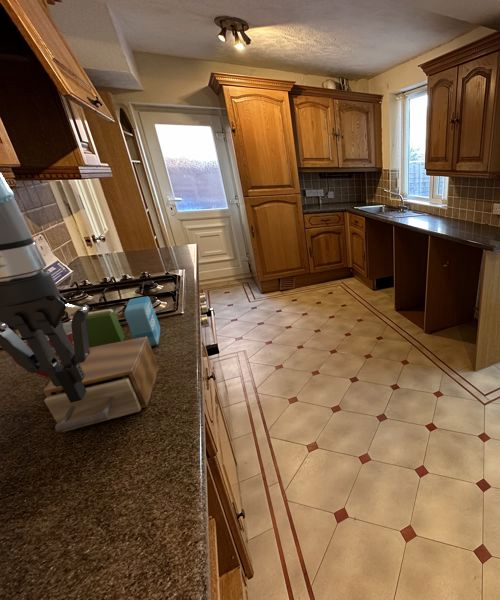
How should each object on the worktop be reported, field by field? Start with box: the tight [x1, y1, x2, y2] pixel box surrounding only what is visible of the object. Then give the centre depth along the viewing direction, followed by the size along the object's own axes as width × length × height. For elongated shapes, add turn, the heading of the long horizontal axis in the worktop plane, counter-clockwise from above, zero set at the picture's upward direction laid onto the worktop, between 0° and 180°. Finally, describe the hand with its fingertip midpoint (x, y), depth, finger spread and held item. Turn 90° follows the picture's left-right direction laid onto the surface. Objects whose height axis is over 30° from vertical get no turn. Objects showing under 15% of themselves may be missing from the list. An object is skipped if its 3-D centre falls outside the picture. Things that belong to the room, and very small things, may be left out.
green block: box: [86, 308, 126, 348], centre depth 93 cm, size 4×8×10 cm, turn 117°
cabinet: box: [42, 337, 160, 409], centre depth 72 cm, size 16×14×10 cm
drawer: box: [43, 375, 142, 433], centre depth 67 cm, size 21×12×8 cm, turn 26°
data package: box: [123, 295, 161, 347], centre depth 94 cm, size 12×4×12 cm, turn 31°
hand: (78, 396), depth 59 cm, fingers closed
